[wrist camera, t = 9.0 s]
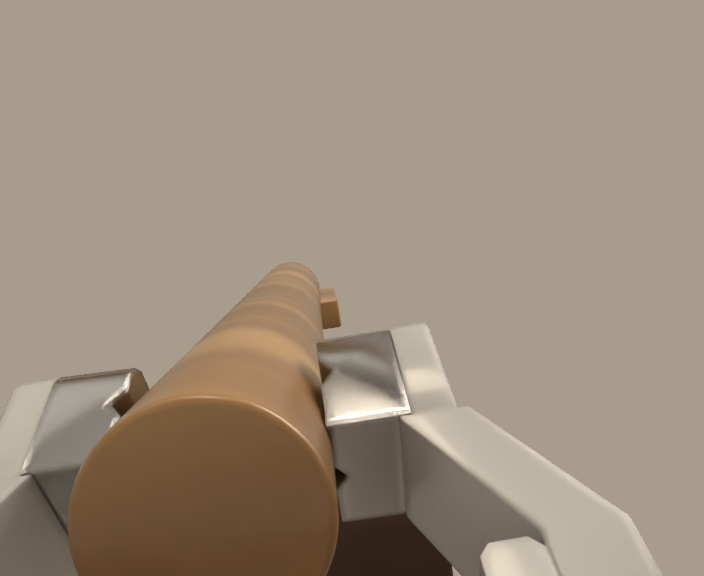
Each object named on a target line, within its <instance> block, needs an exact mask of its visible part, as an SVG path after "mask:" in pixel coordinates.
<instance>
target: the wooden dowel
mask: <svg viewBox="0 0 704 576" xmlns="http://www.w3.org/2000/svg"><path fill="white" fill-rule="evenodd" d="M340 326H341V322H340V315H339V308H338V302H337V298H336V295H335V292H334V289H333V288H326V289H319V283H318V281H317V278H316V276H315V275H314V273H313V272H312V271H311V270H310V269H309V268H307V267H306V266H304V265H302V264H299V263H294V262H289V263H284V264H281V265H278V266H277V267H275V268H274V269H273V270H272V271H271V272H269V274H268V275H266V276H265V277H264V278H263V279H262V280H261V281H260V282H259V283H258V284H257V285H256V286H255V287H254V288H253V289H252V290H251V291H250V292H249V293H248V294H247V295H246V296H245V297H244V298H243V299H242V300H241V301H240V302H239V303H238V304H237V305H236V306H235V307H234V308H233V309H232V310H231V311H230V312H229V313H227V314H226V316H224V317H223V318H222V319H221V320H220V321H219V322H218V323H217V324H216V325H215V326H214V327H213V328H212V329H211V330H210V331H209V332H208V333H207V334H206V335H205V336H204V337H203V338H202V339H201V340H200V341H199V342H198V343H197V344H196V345H195V346H194V347H193V348H192V349H191V350H190V351H189V352H188V353H187V354H186V355H185V356H183V358H181V360H180V361H178V362H177V363H176V364H175V365H174V366H173V367H172V368H171V369H170V370H169V371H168V372H167V373H166V374H165V375H164V376H163V377H162V378H161V379H160V380H159V381H158V382H157V383H156V384H155V385H154V386H153V387H152V388H151V389H150V390H149V391H148V392H147V393H146V394H145V395H144V396H143V397H142V398H140V399H139V400H138V401H137V402H136V403H135V404H134V405H133V406H132V407H131V408H130V409H129V410H128V411H127V412H126V413H125V414H124V415H123V416H122V417H121V418H120V419H119V420H118V421H117V422H116V423H115V424H114V425H113V426H112V427H111V428H110V429H109V430H108V431H107V432H106V433H105V434H104V435H103V436H102V437H101V438H100V439H99V441H98V442H97V443H96V444H95V445H94V447H93V448H92V449H91V451H90V452H89V454H88V455H87V457H86V459H85V460H84V462H83V463H82V465H81V468H80V470H79V472H78V474H77V476H76V479H75V482H74V485H73V488H72V492H71V495H70V501H69V508H68V538H69V545H70V552H71V555H72V559H73V562H74V566H75V569H76V571H77V573H78V575H79V576H326V574H327V572H328V570H329V568H330V565H331V562H332V559H333V556H334V553H335V549H336V544H337V538H338V528H339V513H338V501H337V489H336V478H335V466H334V455H333V447H332V443H331V440H330V437H329V435H328V433H327V428H326V421H325V413H324V405H323V397H322V389H321V384H322V382H321V376H320V369H319V363H318V355H317V345H316V341H318V340H324V338H323V329H328V328H335V327H340Z"/></svg>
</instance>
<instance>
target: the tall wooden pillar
mask: <svg viewBox="0 0 704 576" xmlns="http://www.w3.org/2000/svg"><path fill="white" fill-rule="evenodd" d="M337 501H338V513H339V528H338V538H337V544H336V549H335V553H334V556H333V559H332V562H331V565H330V568H329V570H328V572H327V574H326V576H453V571H452V565H451V564H450V563H449V561H448V560H447V559H446V558H445V557H444V556H443V555H442V554H441V553H440V552H439V551H438V550H437V548H436V547H435V546H434V545H433V544H432V543H431V542H430V541H429V540H428V539H427V538H426V537H425V536H424V534H423V533H422V532H421V531H420V530H419V529H418V528H417V527H416V526H415V525H414V524H413V523H412V521H411V520H410V519H409V518H408V517H407V514H401V515H393V516H386V517H379V518H371V519H364V520H357V521H349V522H343V521H342V516H341V510H340V505H339V500H338V494H337Z"/></svg>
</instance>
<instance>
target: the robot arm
mask: <svg viewBox="0 0 704 576" xmlns="http://www.w3.org/2000/svg"><path fill="white" fill-rule="evenodd" d="M316 345H317V355H318V363H319V369H320V376H321V382H322V384H321V389H322V397H323V405H324V413H325V421H326V428H327V433H328V435H329V437H330V440H331V443H332V447H333V455H334V466H335V478H336V489H337V494H338V500H339V505H340V510H341V516H342V521H343V522H349V521H357V520H364V519H371V518H379V517H386V516H393V515H401V514H407V517H408V518H409V519H410V520H411V521H412V523H413V524H414V525H415V526H416V527H417V528H418V529H419V530H420V531H421V532H422V533H423V534H424V536H425V537H426V538H427V539H428V540H429V541H430V542H431V543H432V544H433V545H434V546H435V547H436V548H437V550H438V551H439V552H440V553H441V554H442V555H443V556H444V557H445V558H446V559H447V560H448V561H449V563H450V564H451V565H452V566H453V567H454V568H455V569H456V570H457V571H458V572H459V573H460V574H461V575H462V576H662V574H661V572H660V570H659V568H658V566H657V565H656V563H655V561H654V559H653V557H652V555H651V554H650V552H649V550H648V548H647V546H646V545H645V543H644V541H643V539H642V537H641V535H640V534H639V532H638V530H637V528H636V527H635V525H634V523H633V521H632V519H631V517H630V516H628V515H627V514H626V513H624V512H623V511H621V510H620V509H618V508H617V507H615V506H613V505H612V504H611V503H609V502H608V501H607V500H605V499H604V498H602V497H601V496H599V495H598V494H596V493H595V492H593V491H592V490H591V489H589V488H588V487H586V486H585V485H583V484H582V483H580V482H579V481H577V480H576V479H575V478H573V477H572V476H570V475H569V474H567V473H566V472H564V471H563V470H561V469H560V468H558V467H557V466H555V465H554V464H553V463H551V462H550V461H548V460H547V459H545V458H544V457H542V456H541V455H539V454H538V453H537V452H535V451H534V450H532V449H531V448H529V447H527V446H526V445H525V444H523V443H522V442H521V441H519V440H517V439H516V438H514V437H513V436H512V435H510V434H509V433H507V432H506V431H504V430H503V429H502V428H500V427H499V426H497V425H496V424H494V423H493V422H491V421H490V420H488V419H487V418H485V417H484V416H483V415H481V414H479V413H478V412H477V411H475V410H474V409H472V408H471V407H469V406H465V407H458V408H457V406H456V403H455V400H454V397H453V394H452V391H451V389H450V386H449V383H448V380H447V377H446V375H445V372H444V369H443V367H442V363H441V361H440V358H439V355H438V352H437V349H436V347H435V344H434V341H433V338H432V336H431V333H430V330H429V327H428V326H427V325H426V324H425V323H418V324H413V325H406V326H401V327H395V328H389V330H383V331H376V332H370V333H363V334H357V335H350V336H344V337H337V338H331V339H325V340H318V341H316ZM148 391H149V388H148V386H147V383H146V381H145V379H144V376H143V374H142V372H141V371H139V370H138V369H136V368H131V369H123V370H115V371H108V372H100V373H92V374H84V375H77V376H69V377H61V378H60V379H50V380H43V381H35V382H27V383H22V384H21V385H19V386H18V387H17V388H16V389H14V391H13V393H12V394H11V397H10V399H9V401H8V403H7V406H6V408H5V410H4V412H3V414H2V417H1V419H0V576H79V575H78V573H77V571H76V569H75V566H74V562H73V559H72V555H71V552H70V545H69V538H68V508H69V501H70V495H71V492H72V488H73V485H74V482H75V479H76V476H77V474H78V472H79V470H80V468H81V465H82V463H83V462H84V460H85V459H86V457H87V455H88V454H89V452H90V451H91V449H92V448H93V447H94V445H95V444H96V443H97V442H98V441H99V439H100V438H101V437H102V436H103V435H104V434H105V433H106V432H107V431H108V430H109V429H110V428H111V427H112V426H113V425H114V424H115V423H116V422H117V421H118V420H119V419H120V418H121V417H122V416H123V415H124V414H125V413H126V412H127V411H128V410H129V409H130V408H131V407H132V406H133V405H134V404H135V403H136V402H137V401H138V400H139V399H140V398H142V397H143V396H144V395H145V394H146V393H147V392H148Z"/></svg>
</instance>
